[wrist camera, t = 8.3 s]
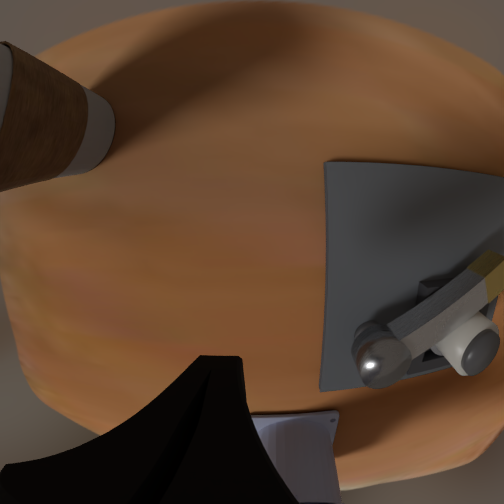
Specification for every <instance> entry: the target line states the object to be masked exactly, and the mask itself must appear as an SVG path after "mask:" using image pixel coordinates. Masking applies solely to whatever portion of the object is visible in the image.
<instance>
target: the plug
mask: <svg viewBox="0 0 504 504" xmlns="http://www.w3.org/2000/svg"><path fill="white" fill-rule="evenodd" d="M499 344H500V337H499V330H498V327H497V325H496V324H494V323H493V322H492V321H491V320H489V319H488V318H487V317H485V316H484V315H483V314H482V313H480V312H479V311H478V312H477V313H476V314H475V315H473V316H472V317H471V318H470V319H468V320H467V321H466V322H465V323H463V324H462V325H461V326H460V327H458V328H457V329H456V330H454V331H453V332H452V333H450V334H449V335H448V336H446V337H445V338H444V339H442V340H441V341H439V342H438V343H437V344H435V345H434V346H432V347H431V348H430V349H431V350H432V351H433V352H434V353H435V354H437V355H441V356H444V357H445V358H446V359H447V360H448V361H449V363H450V364H451V365H452V366H453V367H454V369H455V370H456V371H457V372H458V373H459V374H460V375H462V376H467V375H469V376H474V375H477V374H479V373H480V372H482V371H483V370H484V369H485V368H486V367H487V366H488V365H489V364H490V363H491V361H492V360H493V359H494V357H495V355H496V353H497V351H498V348H499Z"/></svg>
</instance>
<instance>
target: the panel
mask: <svg viewBox="0 0 504 504" xmlns="http://www.w3.org/2000/svg"><path fill="white" fill-rule="evenodd" d="M324 180H325V207H326V283H325V310H324V329H323V344H322V357H321V368H320V379H319V389H320V392H326V391H336V390H344V389H351V388H358V387H365V386H366V385H365V384H364V383H363V382H362V379H361V377H360V375H359V372H358V370H357V367H356V365H355V363H354V360H353V358H352V355H351V347H352V344H353V342H354V340H355V338H356V337H357V336H358V335H359V334H360V333H361V332H362V331H363V330H365V329H366V328H368V327H370V326H372V325H376V324H386V325H387V324H388V323H390V322H392V321H393V320H395V319H396V318H398V317H400V316H401V315H403V314H404V313H406V312H407V311H409V310H411V309H412V308H414V307H415V306H417V305H418V304H420V303H421V302H422V301H424V300H425V299H427V298H428V297H430V296H431V295H432V294H434V293H435V292H437V291H438V290H439V289H441V288H442V287H444V286H445V285H446V284H448V283H449V282H450V281H452V280H453V279H454V278H455V277H457V276H458V275H459V274H461V273H462V272H463V271H464V270H466V269H467V267H468V266H469V265H470V264H471V263H473V262H474V261H475V260H476V259H477V258H479V257H480V256H481V255H482V254H483V253H485V252H486V251H487V250H491V251H493V252H496V253H498V254H500V255H503V256H504V177H499V176H494V175H488V174H482V173H475V172H469V171H462V170H454V169H446V168H437V167H427V166H416V165H403V164H387V163H365V162H324ZM497 298H498V295H497V296H496V297H495V298H494V299H493V300H492V301H491V302H490V303H487V304H486V305H485V306H484V307H483V308H482V309H480V310H479V312H480V313H482V314H483V315H484V316H485V317H487V318H488V319H489V320H491V321H492V318H493V314H494V310H495V306H496V302H497ZM449 367H453V366H452V365H451V364H450V363H449V361H448V360H447V359H446V358H445V357H444V356H441V355H437V354H435V353H434V352H433V351H432V350H431V349H430V348H429V349H428V350H426V351H425V352H423V353H422V354H420V355H419V356H417V357H416V358H414V359H413V360H412V361H411V365H410V367H409V369H408V371H407V372H406V374H405V375H404V376H403V377H402V378H401V379H400V380H403V379H407V378H412V377H416V376H420V375H424V374H428V373H432V372H435V371H439V370H443V369H446V368H449Z"/></svg>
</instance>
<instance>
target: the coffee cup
mask: <svg viewBox="0 0 504 504" xmlns="http://www.w3.org/2000/svg"><path fill="white" fill-rule="evenodd" d="M114 130H115V117H114V113H113V110H112V108H111V106H110V104H109V103H108V102H107V101H106V100H105V99H104V98H102V97H101V96H99V95H97V94H96V93H94V92H92V91H91V90H89V89H87V88H85V87H83V86H82V85H80V84H79V83H77V82H76V81H74V80H73V79H71V78H69V77H68V76H66V75H64V74H63V73H61V72H59V71H58V70H56V69H54V68H53V67H51V66H49V65H48V64H46V63H44V62H42V61H41V60H39V59H37V58H35V57H34V56H32V55H30V54H28V53H27V52H25V51H23V50H21V49H19V48H17V47H16V46H13V45H12V44H10V43H8V42H6V41H4V42H0V192H2V191H6V190H9V189H13V188H17V187H21V186H24V185H29V184H33V183H37V182H41V181H46V180H50V179H52V178H58V177H64V176H71V175H77V174H83V173H85V172H88V171H90V170H92V169H93V168H95V167H96V166H97V165H98V164H99V163H100V162H101V161H102V159H103V158H104V157H105V155H106V153H107V152H108V150H109V148H110V145H111V143H112V140H113V136H114Z"/></svg>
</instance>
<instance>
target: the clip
mask: <svg viewBox="0 0 504 504" xmlns="http://www.w3.org/2000/svg"><path fill="white" fill-rule="evenodd" d="M503 290H504V256H503V255H500V254H498V253H496V252H493V251H491V250H487V251H486V252H485V253H483V254H482V255H481V256H480V257H479V258H477V259H476V260H475V261H474V262H473V263H471V264H470V265H469V266H468V267H467V269H466V270H464V271H463V272H462V273H461V274H459V275H458V276H457V277H455V278H454V279H453V280H452V281H450V282H449V283H448V284H446V285H445V286H444V287H442V288H441V289H439V290H438V291H437V292H435V293H434V294H432V295H431V296H430V297H428V298H427V299H425V300H424V301H422V302H421V303H420V304H418V305H417V306H415V307H414V308H412V309H411V310H409V311H407V312H406V313H404V314H403V315H401V316H400V317H398V318H396V319H395V320H393V321H392V322H390V323H388V324H387V325H386V324H376V325H372V326H370V327H368V328H366V329H365V330H363V331H362V332H361V333H360V334H359V335H358V336H357V337H356V338H355V340H354V342H353V344H352V347H351V355H352V358H353V360H354V363H355V365H356V367H357V370H358V372H359V375H360V377H361V379H362V382H363V383H364V384H365V385H366V386H367V387H369V388H373V389H380V388H385V387H388V386H390V385H392V384H394V383H396V382H397V381H399V380H400V379H401V378H402V377H403V376H404V375H405V374H406V372H407V371H408V369H409V367H410V365H411V361H412V360H413V359H414V358H416V357H417V356H419V355H420V354H422V353H423V352H425V351H426V350H428V349H429V348H431V347H432V346H434V345H435V344H437V343H438V342H439V341H441V340H442V339H444V338H445V337H446V336H448V335H449V334H450V333H452V332H453V331H454V330H456V329H457V328H458V327H460V326H461V325H462V324H463V323H465V322H466V321H467V320H468V319H470V318H471V317H472V316H473V315H475V314H476V313H477V312H478V311H479V310H480V309H482V308H483V307H484V306H485V305H486V304H487V303H490V302H491V301H492V300H493V299H494V298H495V297H496V296H497V295H499V294H500V293H501V292H502V291H503Z"/></svg>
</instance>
